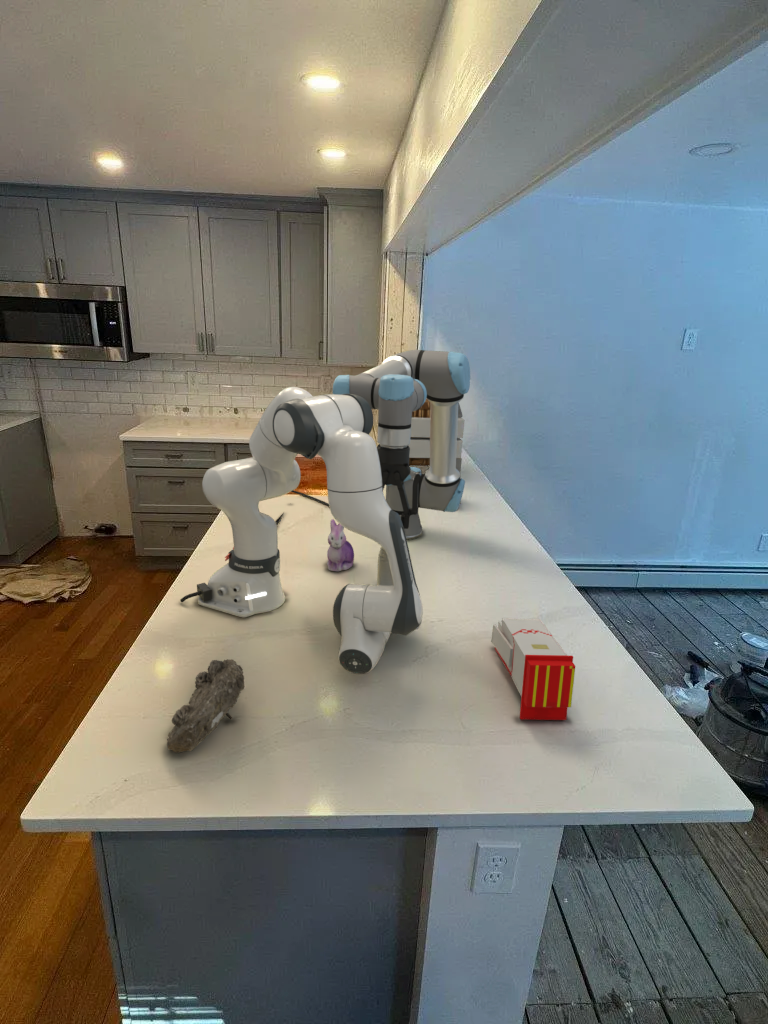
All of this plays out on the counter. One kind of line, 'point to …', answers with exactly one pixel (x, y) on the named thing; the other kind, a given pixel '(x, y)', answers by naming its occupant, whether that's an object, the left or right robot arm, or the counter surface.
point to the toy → (535, 667)
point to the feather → (279, 518)
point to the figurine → (339, 549)
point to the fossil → (206, 705)
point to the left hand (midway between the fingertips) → (386, 596)
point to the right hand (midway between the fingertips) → (388, 539)
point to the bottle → (384, 569)
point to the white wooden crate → (422, 437)
